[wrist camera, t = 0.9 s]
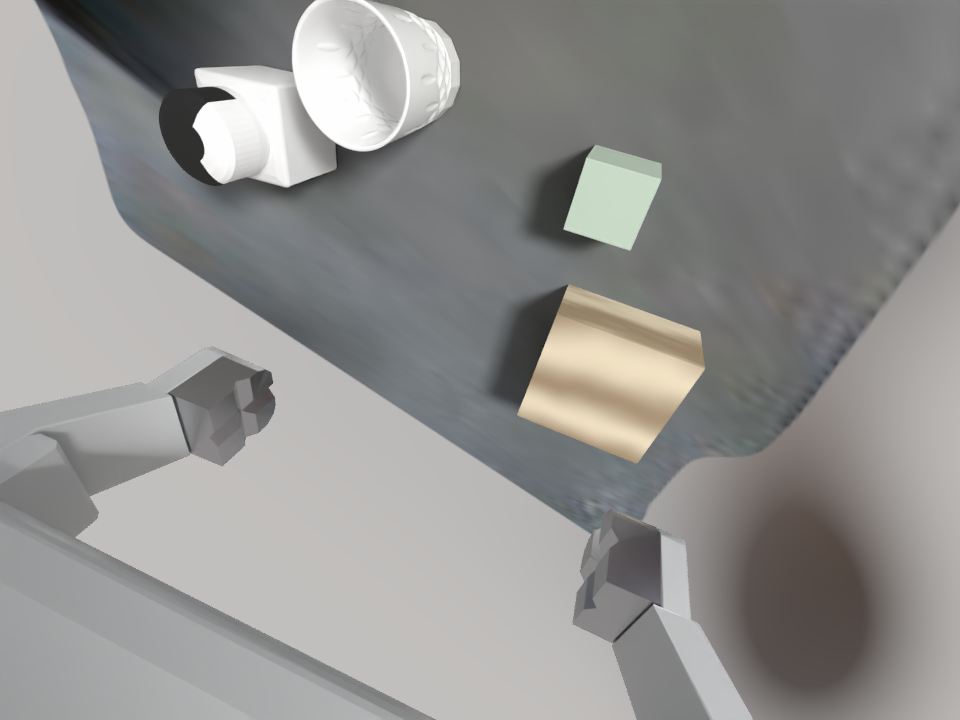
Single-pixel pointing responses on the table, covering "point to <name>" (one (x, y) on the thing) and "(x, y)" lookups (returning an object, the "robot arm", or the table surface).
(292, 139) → the medicine bottle
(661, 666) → the robot arm
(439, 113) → the white cup
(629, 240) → the sage cube
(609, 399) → the beech block
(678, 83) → the table surface
